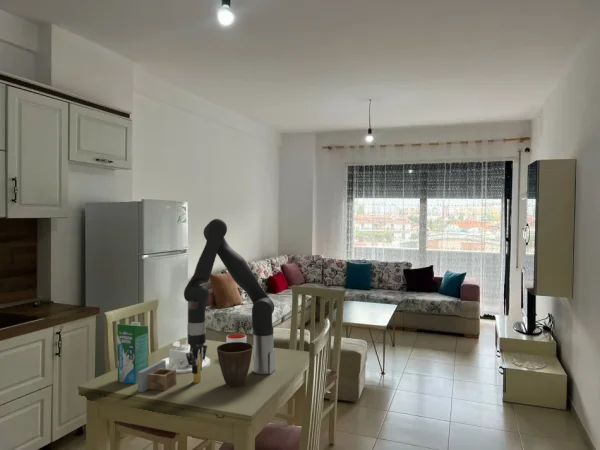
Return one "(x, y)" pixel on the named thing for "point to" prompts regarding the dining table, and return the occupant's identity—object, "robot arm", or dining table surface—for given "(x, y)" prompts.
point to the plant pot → (234, 362)
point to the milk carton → (131, 351)
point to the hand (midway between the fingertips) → (197, 372)
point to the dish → (181, 358)
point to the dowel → (198, 376)
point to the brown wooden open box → (162, 379)
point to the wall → (144, 374)
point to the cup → (236, 338)
